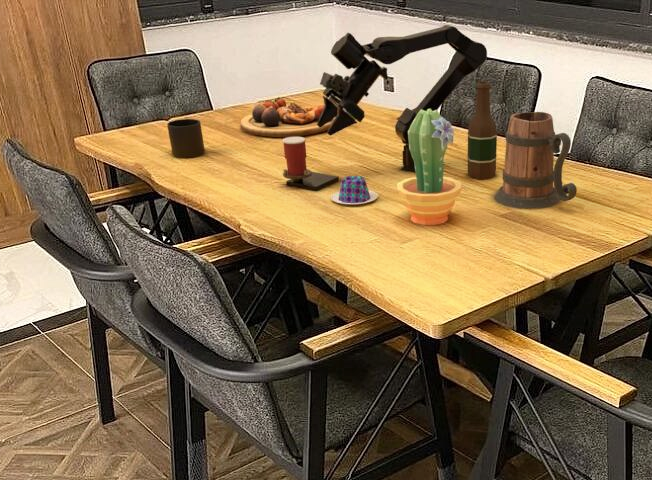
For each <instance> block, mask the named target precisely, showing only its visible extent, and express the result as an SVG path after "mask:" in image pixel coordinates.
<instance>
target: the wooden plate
mask: <svg viewBox="0 0 652 480" xmlns="http://www.w3.org/2000/svg"><path fill="white" fill-rule="evenodd" d="M323 108H324V104H322V105H319V106H317V105H309V106H304V105H299V104H296V103H295V102H291V103H289V104H288V105H287V102H286V100H285V99H284V98H282V97H280V96H278V97H277V98H274V101H273V100H266V101H265V102H264V103H260V102H259V103H258V104H256V105H255V106H254V108H253V109H252V112H251V113H250V114H249V115H246V116H244V117H243V118H242V119H241V120H240V123H239V126H240V128H241V129H242V131H244V132H245V133H248V134H252V135H256V136H262V137H269V138H271V137H274V138H288V137H303V136H308V135H314V134H318V133H322V132H326V131H328V130H329V128H330V126H331V124H332V123H333V121H334V119H335V118H336V117H335V118H333V119H332V120H331V121H329V122H328V123H326V124H325V125H324V126H322V127H319V126H318V125H317V123H318V121H319V118H320V116H321V113H322V111H323Z"/></svg>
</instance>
